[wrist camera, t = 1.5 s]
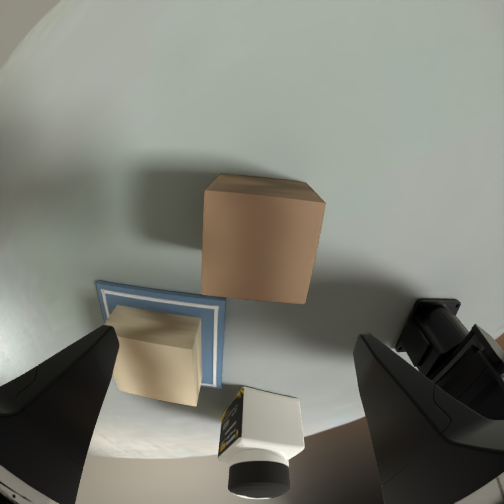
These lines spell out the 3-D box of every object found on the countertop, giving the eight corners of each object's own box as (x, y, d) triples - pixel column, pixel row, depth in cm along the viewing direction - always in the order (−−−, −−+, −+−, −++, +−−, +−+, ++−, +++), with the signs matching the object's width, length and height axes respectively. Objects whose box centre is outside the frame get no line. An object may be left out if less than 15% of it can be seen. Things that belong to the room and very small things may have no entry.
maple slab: (200, 317, 23) (192, 349, 19) (202, 376, 26) (196, 406, 22) (117, 304, 23) (98, 331, 19) (131, 363, 26) (119, 390, 22)
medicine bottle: (242, 384, 27) (237, 484, 16) (300, 397, 28) (310, 489, 17) (221, 413, 30) (212, 497, 19) (273, 424, 31) (275, 503, 20)
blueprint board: (225, 297, 22) (225, 301, 22) (221, 386, 27) (220, 390, 27) (98, 280, 22) (95, 283, 22) (120, 368, 27) (118, 371, 27)
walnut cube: (306, 182, 19) (325, 203, 13) (293, 259, 21) (305, 304, 16) (220, 173, 19) (204, 190, 13) (215, 252, 21) (201, 294, 16)
